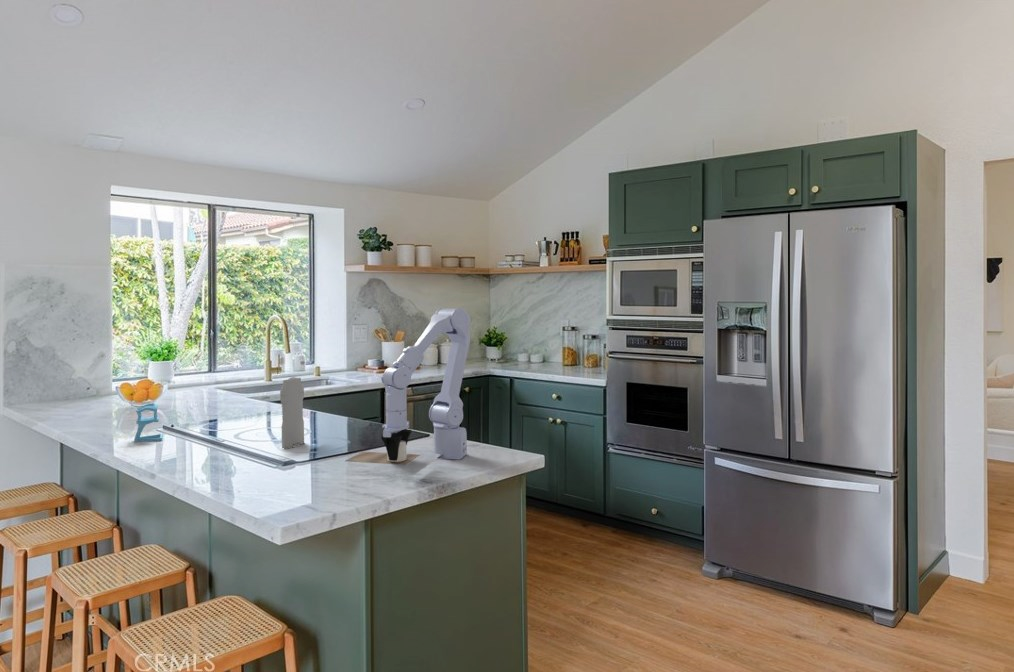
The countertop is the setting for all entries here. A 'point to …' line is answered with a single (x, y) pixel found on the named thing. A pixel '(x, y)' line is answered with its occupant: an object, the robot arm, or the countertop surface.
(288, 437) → the tall pale column
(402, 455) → the cap
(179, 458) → the countertop surface
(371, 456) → the post board
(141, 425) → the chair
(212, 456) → the countertop surface
